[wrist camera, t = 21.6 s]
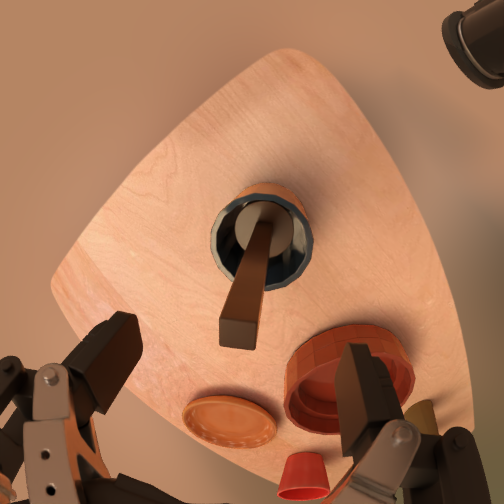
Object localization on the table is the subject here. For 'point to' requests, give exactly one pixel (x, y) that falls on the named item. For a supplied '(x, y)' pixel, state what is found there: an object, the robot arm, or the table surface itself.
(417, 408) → the brown peg figure
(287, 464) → the flower pot
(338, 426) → the bowl
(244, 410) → the saucer
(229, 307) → the wooden pestle
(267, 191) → the crock
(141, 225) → the table surface
